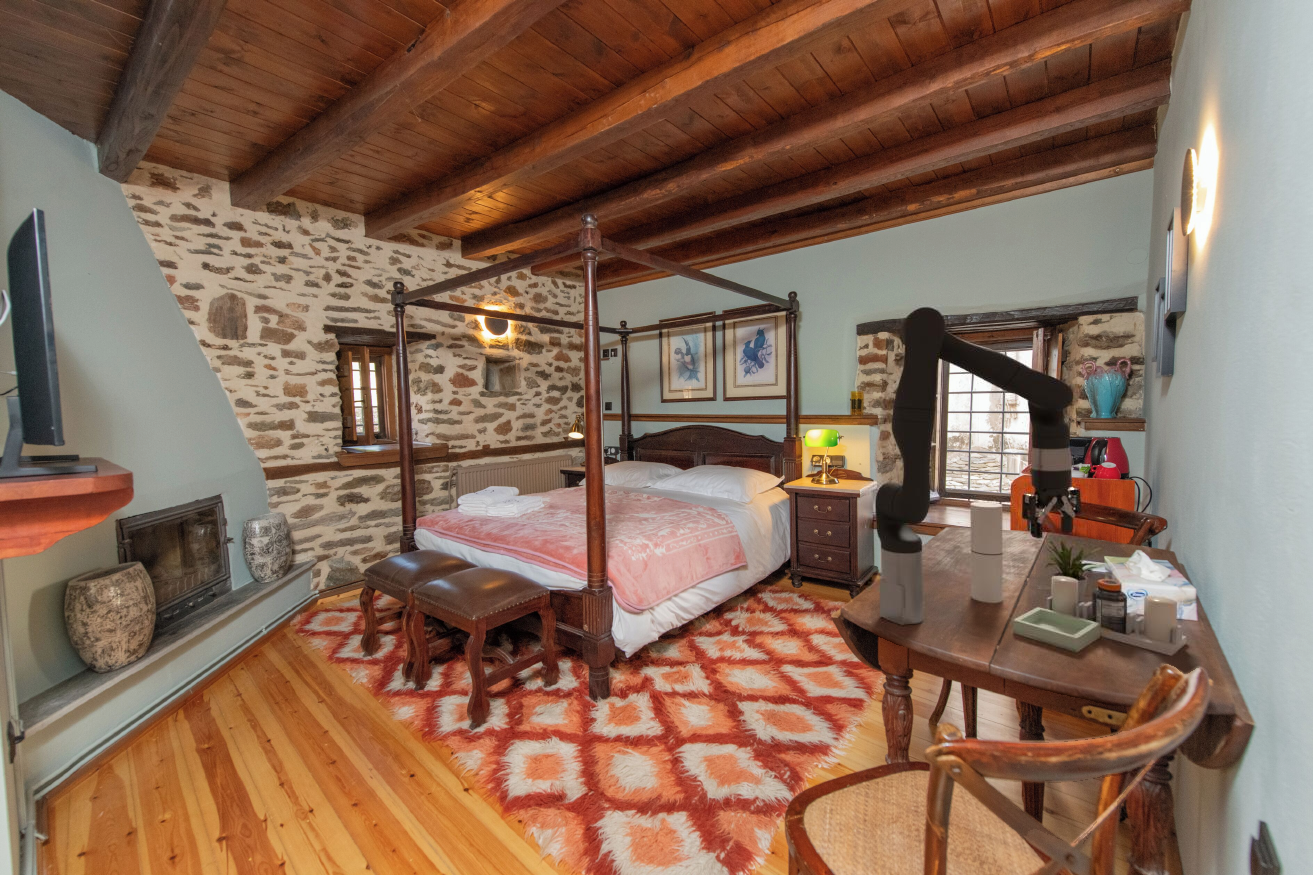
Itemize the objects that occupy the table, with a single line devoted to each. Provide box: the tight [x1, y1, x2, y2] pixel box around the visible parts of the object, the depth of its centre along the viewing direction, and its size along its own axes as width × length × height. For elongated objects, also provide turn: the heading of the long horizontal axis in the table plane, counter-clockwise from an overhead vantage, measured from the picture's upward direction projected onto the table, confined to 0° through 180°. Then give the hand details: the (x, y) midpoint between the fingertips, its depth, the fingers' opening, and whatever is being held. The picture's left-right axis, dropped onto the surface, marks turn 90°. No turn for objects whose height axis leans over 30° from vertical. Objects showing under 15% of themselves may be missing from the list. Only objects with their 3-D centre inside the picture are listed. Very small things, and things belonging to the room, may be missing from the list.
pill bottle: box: [1091, 578, 1128, 635], centre depth 119 cm, size 6×6×11 cm
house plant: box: [1037, 537, 1103, 604], centre depth 138 cm, size 14×14×16 cm
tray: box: [1012, 606, 1101, 653], centre depth 119 cm, size 12×12×3 cm
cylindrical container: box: [969, 501, 1004, 604], centre depth 141 cm, size 7×7×25 cm
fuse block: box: [1046, 576, 1187, 656], centre depth 119 cm, size 9×23×10 cm, turn 32°
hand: (1052, 535), depth 125 cm, fingers open, 8 cm apart
